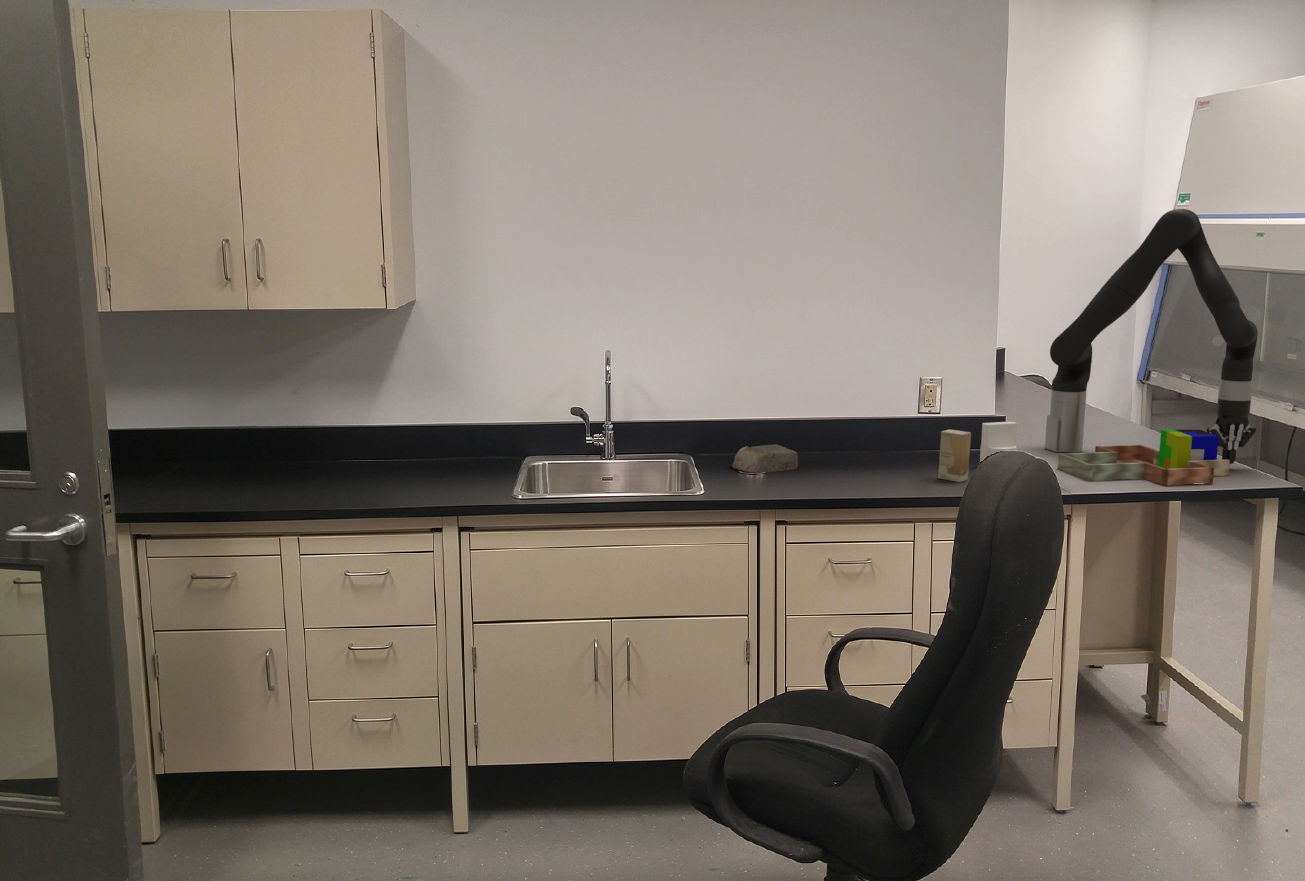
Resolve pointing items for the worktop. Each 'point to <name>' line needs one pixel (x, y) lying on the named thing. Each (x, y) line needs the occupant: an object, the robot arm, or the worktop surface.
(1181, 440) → the puzzle toy
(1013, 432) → the base with upright slab
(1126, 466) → the open sectioned tray
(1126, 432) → the worktop surface
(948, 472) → the skincare box
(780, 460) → the geological specimen
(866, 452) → the worktop surface
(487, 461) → the worktop surface
